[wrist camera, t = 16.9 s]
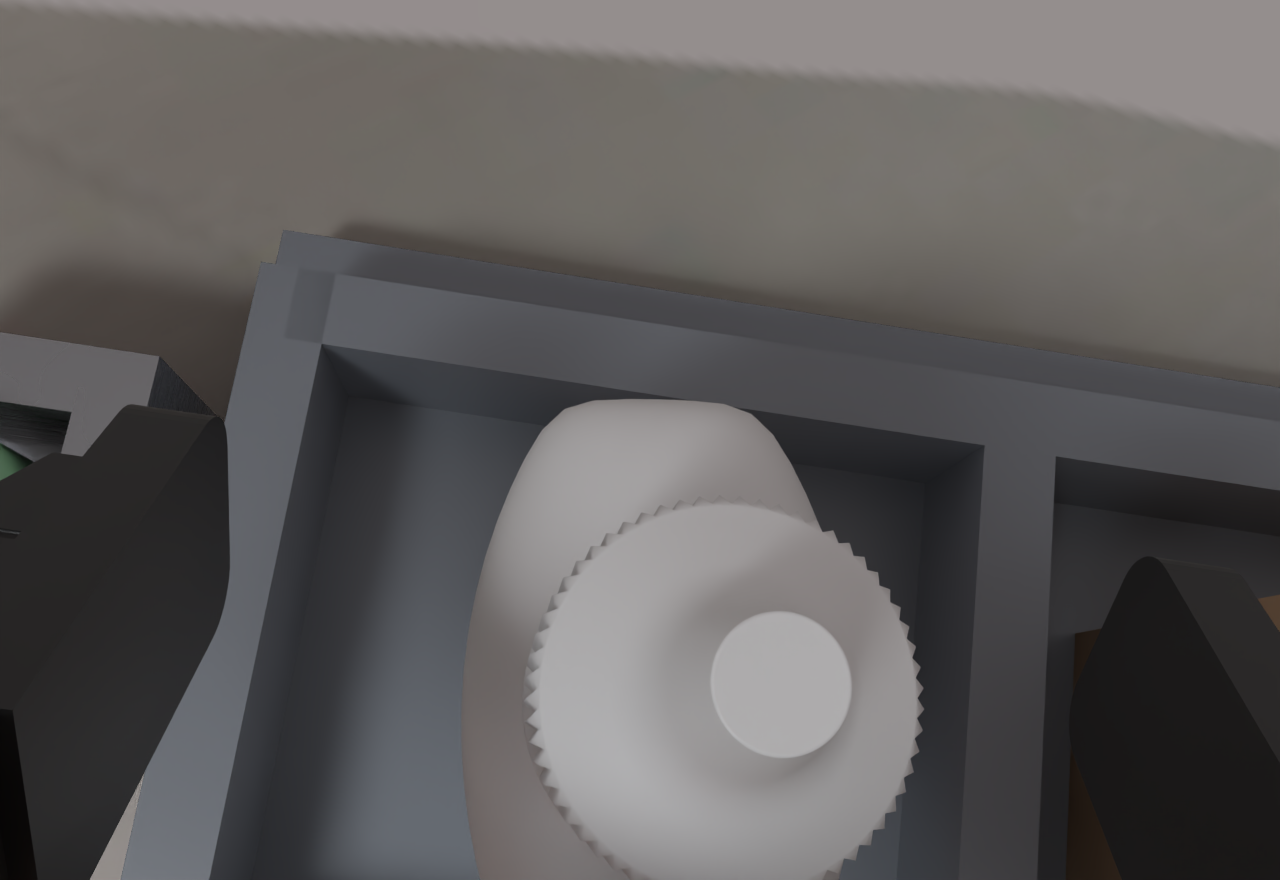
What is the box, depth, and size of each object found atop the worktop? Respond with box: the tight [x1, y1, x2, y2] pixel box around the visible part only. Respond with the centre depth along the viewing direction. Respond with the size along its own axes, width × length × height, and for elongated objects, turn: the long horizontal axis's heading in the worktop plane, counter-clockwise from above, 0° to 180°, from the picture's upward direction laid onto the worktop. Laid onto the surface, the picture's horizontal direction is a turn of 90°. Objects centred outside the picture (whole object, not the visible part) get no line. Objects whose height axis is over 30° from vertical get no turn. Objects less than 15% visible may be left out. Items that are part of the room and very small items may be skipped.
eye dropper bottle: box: [461, 399, 924, 880], centre depth 12 cm, size 4×6×12 cm
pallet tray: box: [121, 230, 1280, 880], centre depth 17 cm, size 22×13×4 cm, turn 82°
